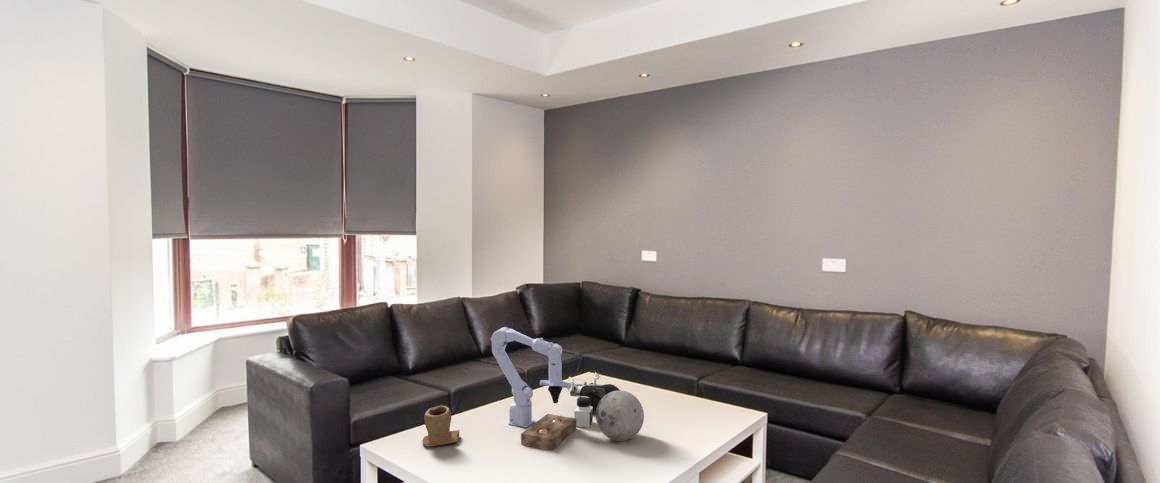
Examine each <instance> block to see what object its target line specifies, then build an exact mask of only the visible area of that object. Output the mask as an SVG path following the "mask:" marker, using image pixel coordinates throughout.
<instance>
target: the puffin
mask: <svg viewBox="0 0 1160 483" xmlns="http://www.w3.org/2000/svg"><path fill="white" fill-rule="evenodd" d="M618 390H620V388H619V387H618V386H617V385H615V384H612V383H611V384H610V383H609V384H607V383H606V384H598V385H589V384H587V385H585V386H583V387H582V388H581V391H580V393H579V397H582V396H585V397H589V398H590V406H591V407H593V412H595V413H596V409H597V406H598V404H599V402H600V400H601V399H602V398H603V397H604V396H605V395H606V394H608V393H610V392H612V391H618Z"/></svg>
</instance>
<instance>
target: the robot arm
mask: <svg viewBox="0 0 1160 483" xmlns="http://www.w3.org/2000/svg"><path fill="white" fill-rule="evenodd" d="M490 342H491V353H492V355H493V357H494V358H495V360H496V361H497V364H498V366H499V367H500V369H501V371H502V372H503V374H504V376H505V378H506V380H507V381H508V383H509V385H510V386H511V394H512V396H513V402H512V403H511V404H510V406H509V422H508V425H510V426H511V425H512V426H517V427H523V428H529V427H530V426H532V425H533V424H534V423H536V420H535V419H533V418H532V417H533V416H532V415H533V414H532V412H533V411H532V405H533V404H532V400H531V399H532V397H533V395H534V390H533V389H532V387H530V386H529V385H528V383H526V382H525V381H524V380H523V379H522V378H521V376H520V374H519V372H518V371H517V370H516V368H515V366H514V364H513V362H512V361H511V359H510V357H509V355H508V353H507V351H506V347H507V344H508V343H510V342H518V343H520V344H523V345H526V346H529V347H531V349H532V350H533V351H535V352H537V353H538V354H542V355H544V356H546V357H547V358H548V379H541V380H539V386H548V388H547V390H548V392H549V394H550V395H551V399H552V402H553V404H554V405H555V404H558V403H559V399H560V395H561V393H562V390H563V388H564V389H567V388H568V389H567V390H570V388H571V383H569V382H567V381H562V380H563V378H562V376H563V375H562V369H563V368H562V355H563V354H562V353H563V347H562V346H561V345H560V344H559V343H553V342H549V341H546V340H544V338H543V337H540V338H539V337H537V338H532V337H530V336H527V335H525V334H523V333H521V332H519V331H516V330H515V329H513V328H509V326H508V327H507V326H503V327H500V328H499V329H498V330H495V331H494V332H493V333H492V334H491V337H490Z"/></svg>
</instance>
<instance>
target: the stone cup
mask: <svg viewBox="0 0 1160 483" xmlns="http://www.w3.org/2000/svg"><path fill="white" fill-rule="evenodd" d="M423 417H424V425H425V428H426V431H427V435H425V436H424V437H422V440H421V441H422V444H423V445H424V446H425V447H436V446H442V445H449V444H453V443H457V442H458V441H459V438H460V433H461V432H460V429H456V430H450V428H451V423H452V422H451V421H452V412H451V409H450V408H449V407H448V406H446V405H437V406H434V407H430V408H428V410H426V411H425V413H424V415H423Z"/></svg>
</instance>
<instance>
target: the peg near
mask: <svg viewBox="0 0 1160 483" xmlns="http://www.w3.org/2000/svg"><path fill="white" fill-rule="evenodd" d="M547 432H548V430H547V429H540V430H539V433H544V434H546V433H547Z"/></svg>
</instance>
